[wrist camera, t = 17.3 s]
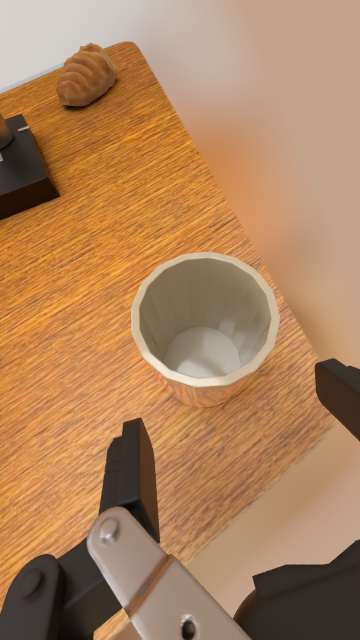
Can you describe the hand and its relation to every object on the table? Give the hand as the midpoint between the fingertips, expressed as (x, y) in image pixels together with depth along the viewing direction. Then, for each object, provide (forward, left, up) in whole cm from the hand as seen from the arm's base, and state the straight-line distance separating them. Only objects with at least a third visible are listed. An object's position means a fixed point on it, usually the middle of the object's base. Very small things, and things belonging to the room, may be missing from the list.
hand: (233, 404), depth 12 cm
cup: (-1, -4, -9) cm, 10 cm away
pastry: (-6, -47, -9) cm, 48 cm away
